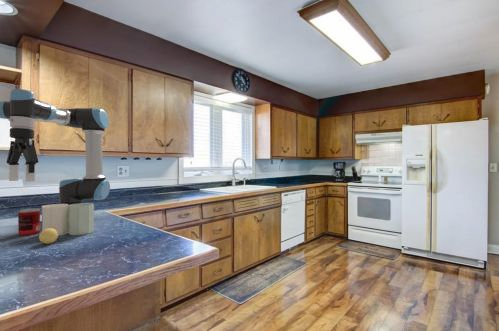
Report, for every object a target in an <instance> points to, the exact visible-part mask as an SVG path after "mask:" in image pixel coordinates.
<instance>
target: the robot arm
mask: <svg viewBox="0 0 499 331" xmlns="http://www.w3.org/2000/svg"><path fill="white" fill-rule="evenodd" d="M9 96H10V97H9V101H8V100H7V101H6V100H3V101H0V119H6V120H8V121H9V127H10V129H9V137H10V138H11V139H14V140H10V145H9V150H8V154H7V159H6V164H8V165H9V166H8V168H9V170H8V171H9V172H8V175H9V176H8V179H9V180H8V182H16V181H17V182H18V181H19V166H20V163H19V160H20V158H21V156H22V155H23V158H24V160H25V163H24V165H25V182H26V183H27V182H35V181H36V179H35V178H36V177H35V176H36V165H37V164H39V158H38V155H37V150H36V147H35V146H36V145H35V140H34V139H35V130H34V129H35V122H44V123H52V124H56V125H58V126H64V127H68V128H69V127H70V128H73V129H81V132H83V134H84V137H85V139H84V140H85V141H84V142H85V144H84V145H85V148H84V149H85V175H84V176H83V177H77V178H67V179H62V180H60V182H59V187H58V191H59V195H58V196H59V200H58V201H59V203H58V204H68V205H72V204H79V203H84V201H92V200H93V201H101V200H104V199H106V198H107V197H108V195H109V194H110V190H111V183H110V181H109V180H107V179H106V175H104V174H103V172H104V170H103V134H104V133H105V132H106V129H107V128H108V127H109V125H110V120H109V116H108V113H107V112H106V111H105V110H104V109H102V108H98V107H97V108H96V107H83V108H82V107H81V108H80V107H79V108H62V107H61V108H57V107H55V105H53V104H50V103H49V102H45V101H41V100H38V99H37V98H36V96H35V93H34V92H33V91H31V90H28V89H21V88H13V89H11V90H10V94H9Z"/></svg>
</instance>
